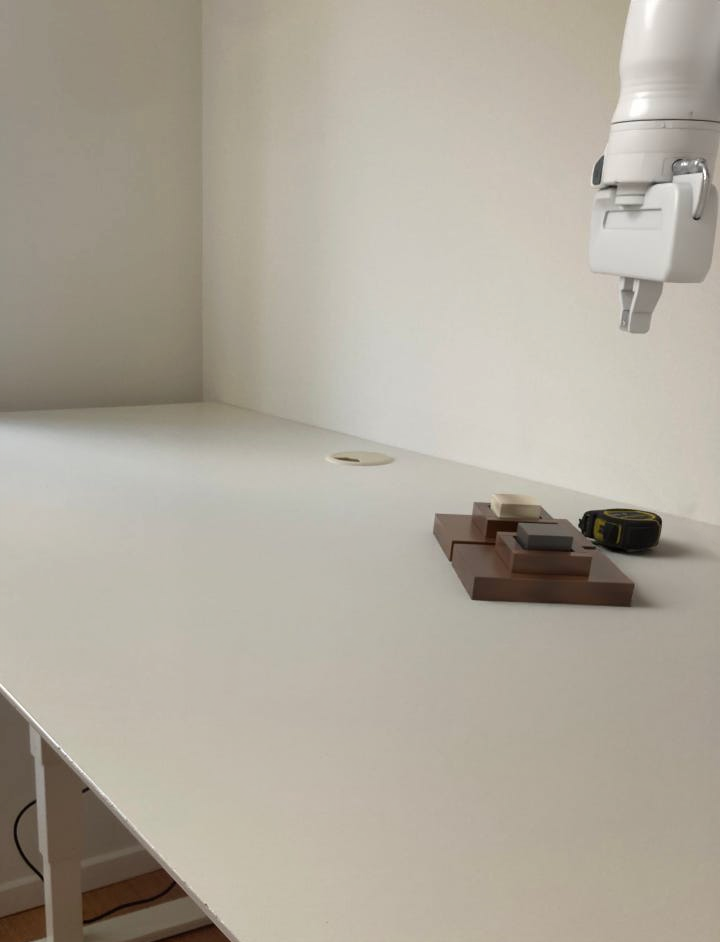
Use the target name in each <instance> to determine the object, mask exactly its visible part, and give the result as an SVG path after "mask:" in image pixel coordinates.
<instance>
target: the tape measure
mask: <svg viewBox="0 0 720 942" xmlns="http://www.w3.org/2000/svg"><path fill="white" fill-rule="evenodd" d="M662 519H663V518H662V517H661V516H660V515H658V514H656V513H655V512H652V511H648V510H647V511H646V510H641V509H635V508H605V509H592V510H591V509H590V510H587V511H585V512H584V513H583V515H582V517H581V518H580V517H579V518H578V524H577V527H578V529H580V532H581V533H582V534H583V535H584V536H585V537H586V538H587V539H591V540H595V541H596V542H597V543H598V544H600V545H603V546H605V547H609V548H614V549H620V550H624V551H626V553H627V552H628V553H632V552H641V551H644V550H650V549H653V548H655V547H657V546H658V544H659V542H660V539H661V535H662V528H663V520H662Z"/></svg>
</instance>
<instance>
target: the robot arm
mask: <svg viewBox="0 0 720 942" xmlns="http://www.w3.org/2000/svg"><path fill="white" fill-rule="evenodd" d="M627 11H628V12H627V16H626V22H625V27H624V32H623V37H622V43H621V51H620V57H619V64H618V65H619V66H618V73H619V78H620V79H619V80H620V88H619V89H620V91H619V98H618V102H617V105H616V108H615V109H614V112H613V115H612V118H611V122H610V130H609V135H608V141H607V143H606V145H605V149H604V151H603V152H602V154H601V155H600V156H599V158H598V159H597V160H596V161H595V162H594V164H593V166H592V170H591V174H590V183H589V185H590V187H591V189H594V190H597V191H596V193H595V195H594V197H593V201H592V206H591V215H590V225H589V236H588V237H589V238H588V251H587V257H588V266H589V270H590V272H591V273H593V274H599V275H608V276H613V277H614V276H615V277H619V280H618V287H617V293H618V301H619V311H620V312H619V319H618V325H617V326H618V329H619V330H620V331H622V332H627V333H629V334H637V335H638V334H640V335H645V334H647V333H648V332H649V331H650V328H651V321H652V316H653V314H654V311H655V309H656V308H657V307H656V306H657V304H658V303H659V300H660V298H661V296H662V295H663V289H664V283H671V284H702V283H703V282H704V281H705V279H706V277H707V276H708V274H709V271H710V269H711V267H712V263H713V256H714V250H715V249H714V248H715V240H716V233H717V225H718V224H717V223H718V216H719V215H718V214H719V213H718V212H719V191H718V189H717V186H716V185H715V184H713V182H714V176H715V169H716V163H717V158H718V152H719V149H720V148H719V146H720V0H630V3H629V7H628V10H627Z"/></svg>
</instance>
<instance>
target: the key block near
mask: <svg viewBox="0 0 720 942" xmlns="http://www.w3.org/2000/svg"><path fill="white" fill-rule="evenodd" d="M516 534H517V532H497V536H496V543H495V545H474V544H454V548H453V556H452V562H451V567H452V569H453V571H454V572H455V573H456V575H457V577H458V579H459V581H460V582H461V584H462V587H464V589H465V591H466V593H467V595H468V596H469V598H470V600H471V601H483V602H484V601H487V602H509V603H529V604H553V605H554V604H556V605H576V606H597V607H598V606H601V607H622V608H623V607H624V608H630V607H631V606H632V600H633V596H634V590H635V585H636V583H635V582H633V580H632V579H630V577H628V576H627V575H626V573H624V572H623V571H622V570H621V569H620V568H619V567H618V566H617V565H616V564H615V563H614V562H612V560H610V558H608V557H607V556H606V555H605V554H604V553H603V552H602V551H601V550H600V549H595V550H589V549H584V548H583V547H582V546H581V545H580V544H579V543H578V542H577V541H576V540H575V539H573V543H572V549H571V552H558V551H535V550H524V549H523V548H522V547H521V546H520V545H519V543H518V542H517V541H516Z"/></svg>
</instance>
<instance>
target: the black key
mask: <svg viewBox="0 0 720 942" xmlns="http://www.w3.org/2000/svg"><path fill="white" fill-rule="evenodd" d="M516 541H517V542H518V543H519V545H520V546H521V547H522V548H523V549H524V550H535V551H558V552H571V549H572V543H573V536H572V535H571V534H570V533H569V532H568V531H567V530H566V529H565V528H564V527H563V526H562V525H559V524H536V523H518V528H517V534H516Z"/></svg>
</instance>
